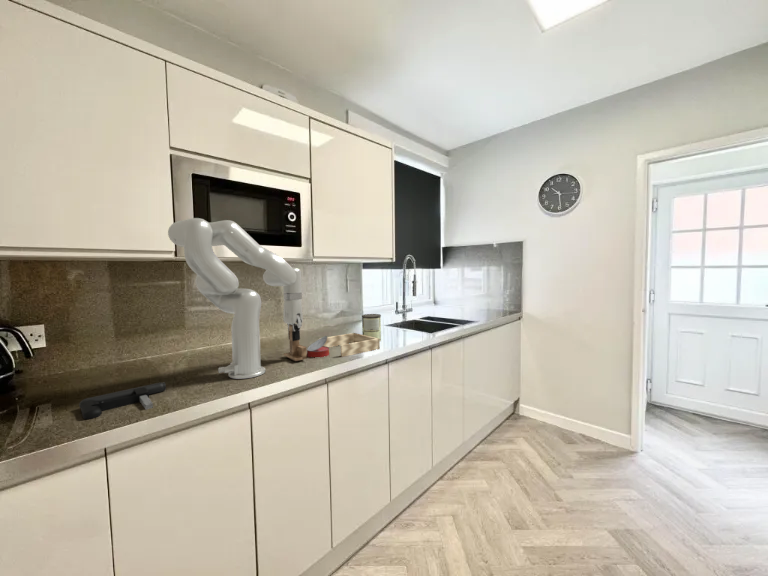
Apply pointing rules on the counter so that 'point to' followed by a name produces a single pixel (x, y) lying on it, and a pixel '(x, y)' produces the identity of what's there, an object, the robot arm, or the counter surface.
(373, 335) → the coffee can
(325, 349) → the canned food
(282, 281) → the robot arm
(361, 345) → the box
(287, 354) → the upright wooden block
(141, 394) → the door handle
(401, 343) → the counter surface
